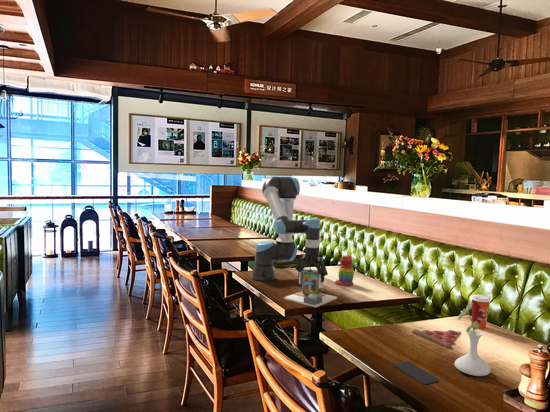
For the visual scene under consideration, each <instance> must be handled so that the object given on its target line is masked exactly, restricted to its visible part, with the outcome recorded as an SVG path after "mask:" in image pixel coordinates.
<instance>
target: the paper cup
mask: <svg viewBox="0 0 550 412" xmlns="http://www.w3.org/2000/svg"><path fill="white" fill-rule="evenodd" d="M470 299H471V302H472V303H473V304H472V306H471V319H472V322H473V323H474V322H475V321H477V322H478V324H479V329H478V330H484V329H486V326H487V320H488V313H489V305H490V302H491V300H490V297H489V296H488V295H487V296H486V295H484V294H473V295H472V296H471V298H470ZM472 322H471V323H472Z"/></svg>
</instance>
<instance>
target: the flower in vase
mask: <svg viewBox="0 0 550 412" xmlns="http://www.w3.org/2000/svg"><path fill="white" fill-rule="evenodd" d="M472 304H473V303H472V301H470V302H468V303H467V305H466V308H463V309H462V312H461V313H460V314H458V317H457V318H456V319H457V320H459V321H460V320H461V319H463V318H464V317H465V316H466V315H468V317H469V318H470V322H471V325H469V327H467V328H466V330H465V332H466V333H467V335H468V338H469V351H468V353H466V354H464V355H462V356H459V357H458V358H457V359H455V361H454V366H455V367H456V369H457V370H459V371H461V372H462V373H464V374H467V375H470V376H475V377H484V376H488V375H489V374H490V373H491V371H492V370H491V367H490V366H489V364H488V363H487V362H486V361H485V360H484V359H483V358H481V356H480V355H479V354H478V344H479V340H480V339H481V337H482V336H483V333H482V332H481V331H478V330H480V329H479V324H478V322H477V321H475V322H474V323H473V322H472V315H470V311H469V310H470V309H472Z"/></svg>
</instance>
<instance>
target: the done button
mask: <svg viewBox="0 0 550 412" xmlns="http://www.w3.org/2000/svg"><path fill="white" fill-rule="evenodd" d="M309 298H310V299H314V300H315V299H317V295H316V294H309Z"/></svg>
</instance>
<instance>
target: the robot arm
mask: <svg viewBox="0 0 550 412" xmlns="http://www.w3.org/2000/svg"><path fill="white" fill-rule="evenodd" d="M261 191H262V195H263V198H264V199H265V200H266V201H267V203H268V206H269V209H270V211H271V213H272V217H273V218H274V222H273V231H274V233H275V234H278V238H276V239H275V240H276V241H275V243H274V241H273V240H264V241H259V242H257V243H256V244H255V249H254V267H253V268H252V269H253V271H252V273H251V279H252V280H255V281H261V282H269V281H274V280H276V273H275V268H274V262H292V261H294V260H295V259H296V257H297V254H298V244H297V243H296V242H295V240H294V239H293V235H294V234H298V235H299V234H305V245H304V246H305V249H304V253H302V254H300V255H299V256H300V257H299V260H298V261H297V264H296V266H295V271H297V272H298V284H299V285H302V277H303V270H305V268H306V267H307V265H308V264H309V265H310V264H311V265H313V266H314V267H315V268H316V270H318V272H319V274H320V276H319V288H320V289H322V288H323V286H324V282H325V277H326V276H328V271H327V268H326V264H325V260H324V259H325V257H324V256H322V257H320V256H319V254H320V236H321V219H320V218H316V217H315V218H314V217H309V218H306V219H294V202H295V200H296V199H297V197H298V196H299V195H300V192H301V185H300V182H299V180H298V178H297V177H293V176H271V177H269V178H267V179H266V180H265V181H264V183H263V184H262V188H261Z"/></svg>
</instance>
